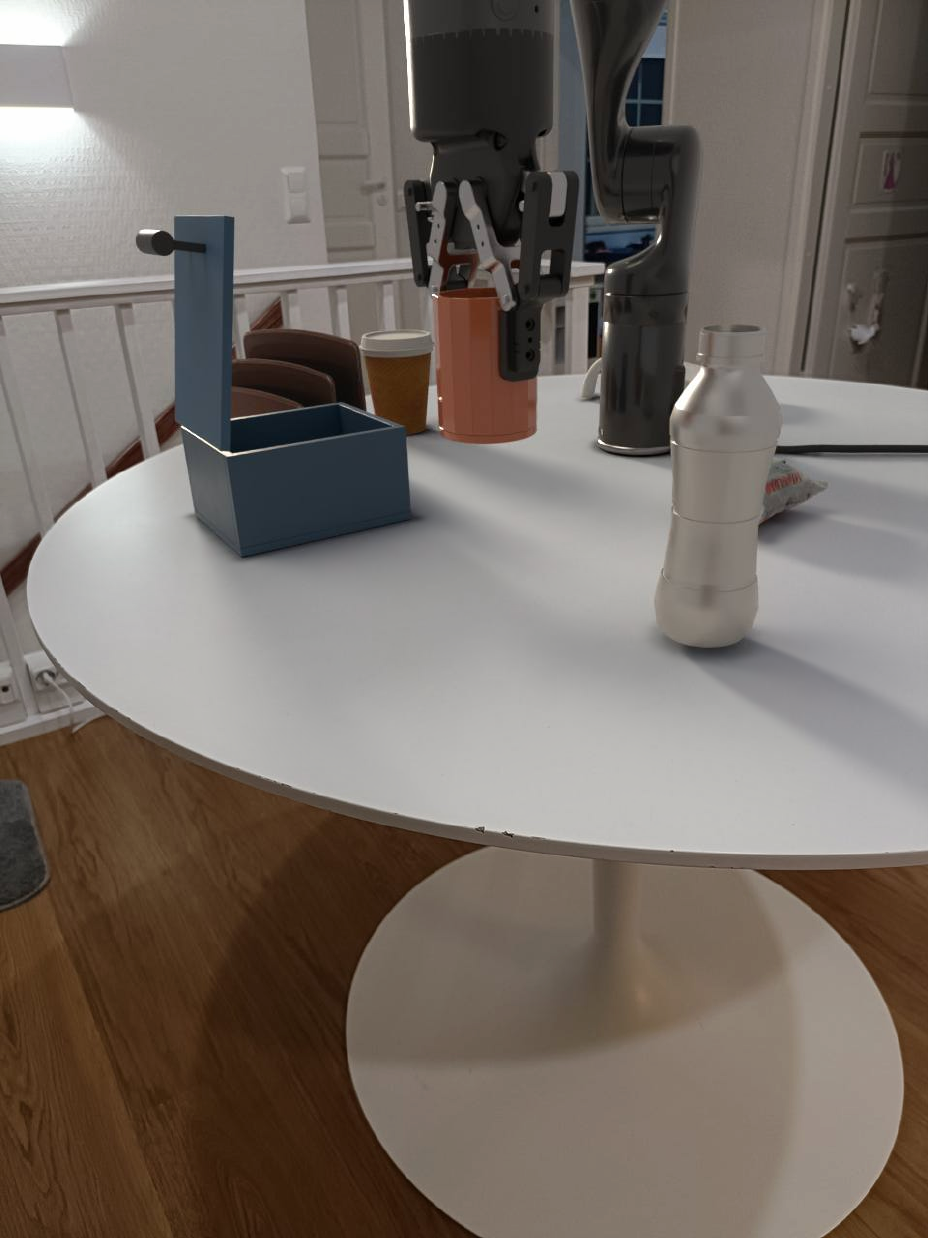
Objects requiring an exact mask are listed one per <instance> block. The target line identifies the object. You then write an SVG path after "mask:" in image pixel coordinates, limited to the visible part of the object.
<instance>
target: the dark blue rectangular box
mask: <svg viewBox="0 0 928 1238" xmlns="http://www.w3.org/2000/svg"><path fill="white" fill-rule="evenodd" d="M179 428H180V433H181V439H182V446H183V452H184V457H185V462H186V469H187V474H188V480H189V488H190V493H191V499H192V504H193V508H194V516H195V517H196V518H197V519H198V520H200V521H201V522H202V523H203V524H204V525H205V526H206V527H208V529H210V530H211V531H212V532H213V533H214V534H215V535H216V536H217V537H219V539H221V540H222V541H223V542H224V543H225V544H226V545H227V546H228V547H229V548H231V550H233V551H234V552H235V553H236V554H237V555H238V556H239V557H241V558H244V557H249V556H253V555H258V554H263V553H266V552H272V551H275V550H280V549H284V548H289V547H294V546H298V545H301V544H303V545H304V544H307V543H311V542H316V541H320V540H324V539H329V538H333V537H337V536H342V535H346V534H350V533H355V532H360V531H364V530H369V529H373V528H377V527H382V526H386V525H390V524H394V523H395V524H396V523H399V522H404V521H408V520H411V519H412V514H411V511H412V510H411V509H412V508H411V494H410V493H411V492H410V478H409V477H410V476H409V462H408V461H409V460H408V459H409V458H408V443H407V435H406V427H405V426H403V425H400V424H397V423H394V422H392V421H389V420H387V419H384V418H382V417H379V416H376V415H375V413H372V412H369V411H367V412H366V411H364V410H361V409H358V408H356V407H353V406H351V405H348V404H346V403H343V402H339V403H332V404H326V405H319V406H312V407H306V408H299V409H292V410H286V411H279V412H272V413H266V414H259V415H252V416H245V417H239V418H232V419H231V438H230V451H220V450H218V449H217V448H215V447H214V446H212V445H210V444H209V443H207V442H206V441H204V440H203V439H201V438H200V437H198V436H197V435H195V434H194V433H192V432H191V431H189V430H188V429H186V428H185V427H183V426H182V425H180V427H179Z"/></svg>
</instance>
